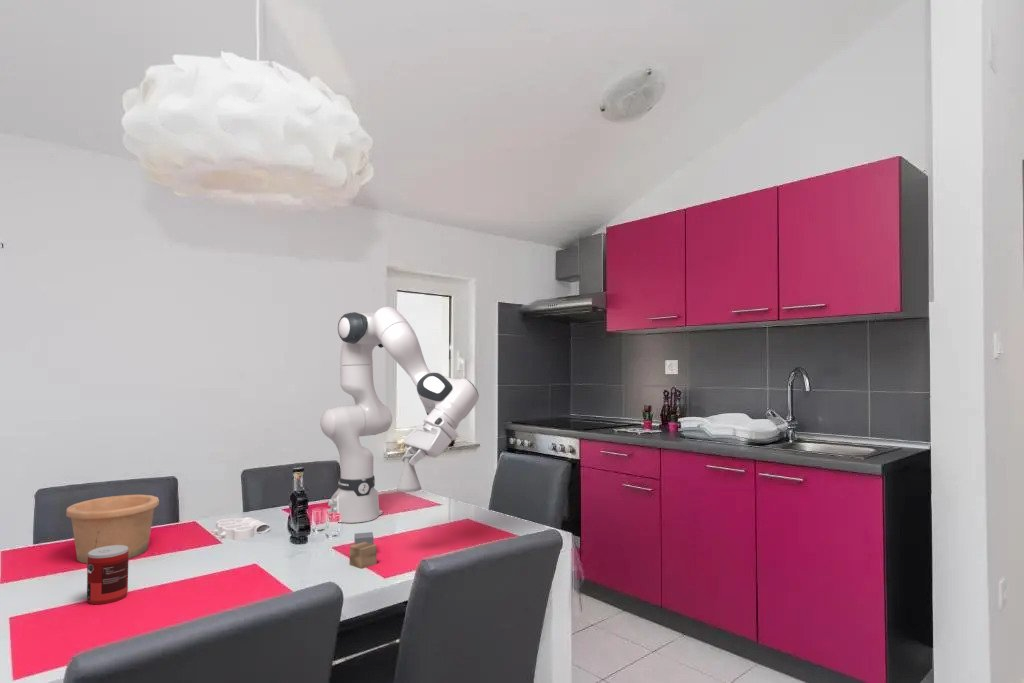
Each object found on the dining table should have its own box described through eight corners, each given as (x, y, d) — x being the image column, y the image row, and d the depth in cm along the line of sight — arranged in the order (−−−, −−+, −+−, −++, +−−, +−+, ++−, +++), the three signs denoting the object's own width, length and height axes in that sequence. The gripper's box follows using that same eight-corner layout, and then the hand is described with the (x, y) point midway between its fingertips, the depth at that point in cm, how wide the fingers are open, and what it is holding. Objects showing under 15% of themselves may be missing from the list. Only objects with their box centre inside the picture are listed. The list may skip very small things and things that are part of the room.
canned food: (99, 592, 140) (100, 545, 141) (134, 591, 141) (135, 544, 141) (78, 605, 133) (79, 555, 133) (116, 604, 133) (117, 554, 134)
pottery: (175, 548, 174) (175, 498, 174) (95, 572, 154) (96, 516, 154) (128, 538, 183) (128, 491, 183) (47, 560, 163) (48, 508, 163)
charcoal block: (354, 551, 170) (354, 533, 170) (372, 549, 172) (372, 532, 172) (355, 556, 166) (355, 538, 166) (373, 554, 167) (373, 537, 167)
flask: (417, 492, 164) (417, 456, 165) (392, 492, 165) (392, 456, 166) (425, 488, 171) (424, 453, 172) (400, 487, 172) (400, 452, 173)
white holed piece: (274, 534, 188) (227, 545, 178) (249, 523, 200) (204, 533, 190) (274, 523, 188) (227, 533, 178) (250, 513, 201) (204, 522, 190)
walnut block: (349, 565, 159) (349, 546, 159) (364, 560, 163) (364, 541, 163) (361, 569, 156) (361, 549, 156) (376, 564, 159) (376, 545, 160)
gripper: (417, 416, 182) (386, 451, 176) (446, 421, 164) (412, 460, 159) (431, 429, 184) (401, 464, 178) (460, 436, 166) (428, 475, 161)
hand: (406, 462), depth 168 cm, fingers closed on flask, 3 cm apart
